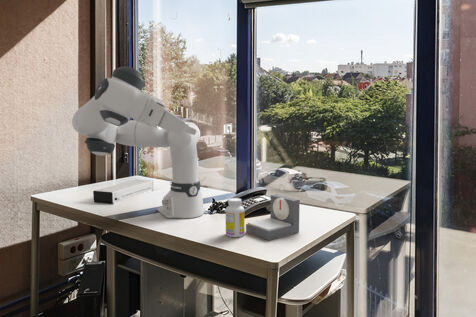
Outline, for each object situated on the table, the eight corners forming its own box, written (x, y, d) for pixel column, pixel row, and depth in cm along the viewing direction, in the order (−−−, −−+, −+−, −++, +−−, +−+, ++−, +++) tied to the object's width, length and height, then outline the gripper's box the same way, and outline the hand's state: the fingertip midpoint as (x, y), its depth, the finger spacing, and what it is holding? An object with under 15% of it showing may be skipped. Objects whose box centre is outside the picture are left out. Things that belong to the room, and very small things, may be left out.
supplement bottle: (242, 231, 145) (242, 197, 144) (246, 237, 139) (245, 201, 137) (224, 232, 144) (224, 197, 143) (226, 238, 138) (226, 202, 136)
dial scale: (245, 232, 145) (245, 199, 143) (276, 224, 154) (276, 194, 153) (268, 240, 135) (268, 206, 134) (299, 232, 145) (299, 199, 143)
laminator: (136, 190, 223) (135, 179, 223) (155, 191, 219) (154, 180, 218) (93, 203, 192) (93, 190, 191) (114, 205, 187) (114, 192, 187)
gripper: (141, 115, 129) (178, 131, 136) (152, 127, 111) (195, 145, 117) (149, 97, 129) (186, 115, 135) (162, 106, 111) (204, 126, 117)
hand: (191, 129), depth 126 cm, fingers open, 8 cm apart
